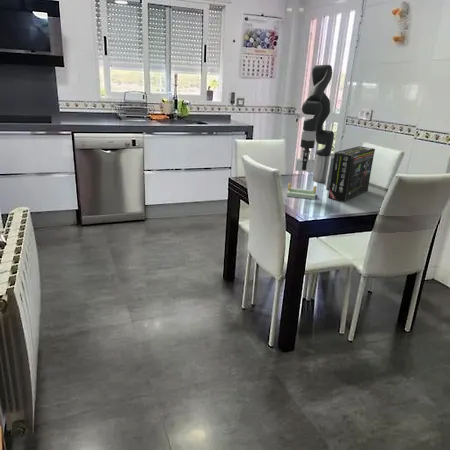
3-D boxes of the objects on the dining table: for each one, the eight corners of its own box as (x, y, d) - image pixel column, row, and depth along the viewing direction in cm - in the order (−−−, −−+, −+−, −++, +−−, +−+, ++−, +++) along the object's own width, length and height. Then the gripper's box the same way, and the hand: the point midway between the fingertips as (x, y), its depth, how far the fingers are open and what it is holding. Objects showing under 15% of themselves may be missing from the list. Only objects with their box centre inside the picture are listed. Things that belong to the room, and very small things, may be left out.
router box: (351, 187, 255) (358, 145, 246) (368, 191, 249) (376, 148, 240) (326, 198, 229) (333, 151, 220) (344, 202, 223) (352, 154, 213)
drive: (294, 168, 229) (296, 158, 227) (312, 170, 228) (313, 159, 226) (295, 170, 225) (296, 159, 222) (313, 172, 224) (314, 161, 222)
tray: (288, 191, 238) (289, 181, 236) (315, 194, 235) (317, 184, 233) (286, 195, 228) (287, 185, 226) (315, 199, 225) (316, 188, 223)
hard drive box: (338, 190, 245) (343, 158, 238) (326, 189, 247) (330, 157, 240) (337, 184, 260) (342, 154, 253) (325, 183, 261) (329, 153, 254)
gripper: (302, 136, 228) (298, 166, 233) (300, 140, 214) (296, 170, 220) (315, 137, 226) (311, 167, 232) (314, 141, 213) (310, 172, 219)
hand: (304, 168), depth 226 cm, fingers closed on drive, 5 cm apart
